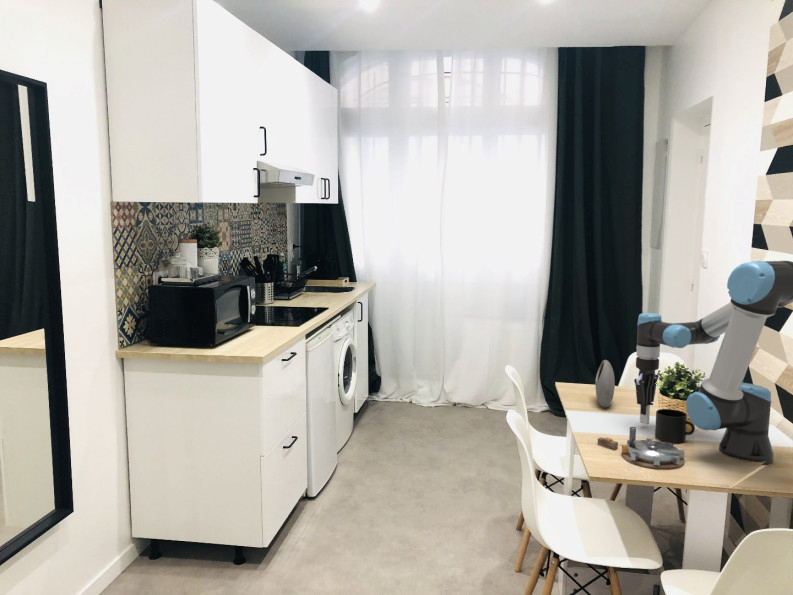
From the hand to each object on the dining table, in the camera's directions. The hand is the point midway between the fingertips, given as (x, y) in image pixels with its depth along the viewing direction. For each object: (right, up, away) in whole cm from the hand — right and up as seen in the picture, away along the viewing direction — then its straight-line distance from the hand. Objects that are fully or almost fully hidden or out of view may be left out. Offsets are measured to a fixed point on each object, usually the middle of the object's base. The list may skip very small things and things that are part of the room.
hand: (644, 422), depth 222 cm
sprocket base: (-9, -5, -29) cm, 30 cm away
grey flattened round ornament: (-6, +1, +25) cm, 26 cm away
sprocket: (-9, -4, -29) cm, 30 cm away
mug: (+5, -4, -12) cm, 13 cm away
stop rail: (-20, -4, -19) cm, 28 cm away
